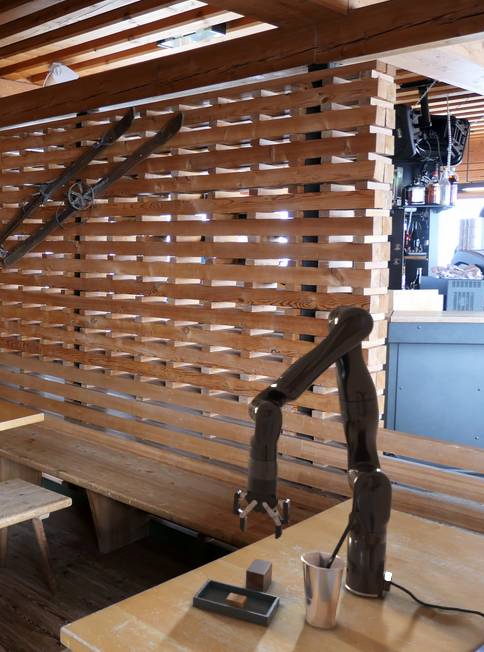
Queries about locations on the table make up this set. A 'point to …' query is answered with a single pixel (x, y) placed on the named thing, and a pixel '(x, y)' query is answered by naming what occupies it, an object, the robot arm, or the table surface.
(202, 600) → the tray
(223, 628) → the table surface
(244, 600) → the copper square block
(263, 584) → the brown long rectangular block
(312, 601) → the metal cup with straw
